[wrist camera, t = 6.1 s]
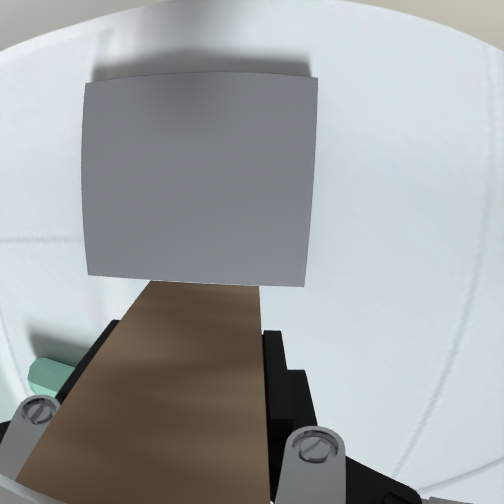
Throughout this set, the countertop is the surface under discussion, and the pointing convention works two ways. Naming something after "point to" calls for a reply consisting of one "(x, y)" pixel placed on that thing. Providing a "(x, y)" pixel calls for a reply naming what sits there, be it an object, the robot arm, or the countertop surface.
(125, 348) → the block
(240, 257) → the board
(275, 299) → the countertop surface
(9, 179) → the countertop surface
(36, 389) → the container
